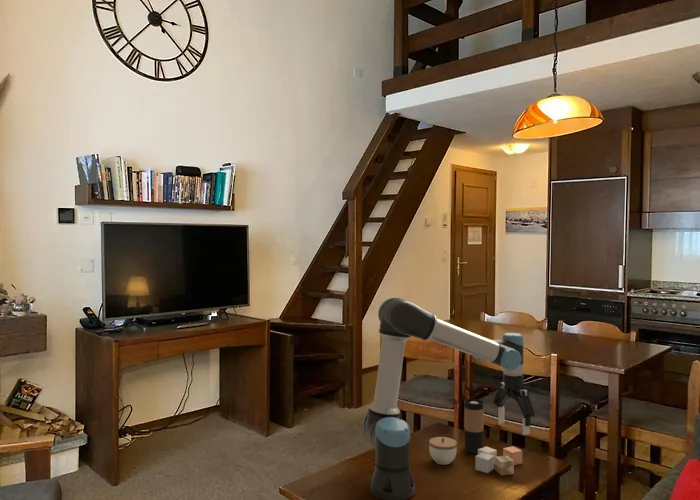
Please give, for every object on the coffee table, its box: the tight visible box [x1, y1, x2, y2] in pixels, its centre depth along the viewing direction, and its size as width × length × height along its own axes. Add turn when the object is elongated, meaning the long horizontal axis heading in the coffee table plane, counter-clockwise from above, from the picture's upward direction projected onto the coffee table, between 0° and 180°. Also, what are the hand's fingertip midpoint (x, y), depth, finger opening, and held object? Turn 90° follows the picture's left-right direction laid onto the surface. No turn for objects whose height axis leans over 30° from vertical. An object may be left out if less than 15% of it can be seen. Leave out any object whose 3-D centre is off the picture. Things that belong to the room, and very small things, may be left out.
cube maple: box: [494, 455, 515, 476], centre depth 203 cm, size 5×5×5 cm
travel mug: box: [463, 398, 485, 454], centre depth 223 cm, size 8×8×20 cm
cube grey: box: [474, 453, 495, 474], centre depth 205 cm, size 5×5×5 cm
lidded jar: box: [428, 436, 458, 466], centre depth 212 cm, size 11×11×9 cm
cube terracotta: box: [502, 446, 523, 466], centre depth 212 cm, size 5×5×5 cm
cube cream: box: [477, 446, 498, 465], centre depth 211 cm, size 5×5×5 cm
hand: (513, 428), depth 211 cm, fingers open, 13 cm apart
